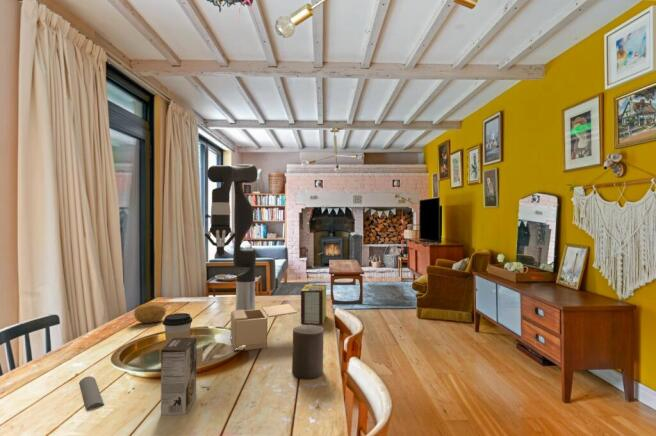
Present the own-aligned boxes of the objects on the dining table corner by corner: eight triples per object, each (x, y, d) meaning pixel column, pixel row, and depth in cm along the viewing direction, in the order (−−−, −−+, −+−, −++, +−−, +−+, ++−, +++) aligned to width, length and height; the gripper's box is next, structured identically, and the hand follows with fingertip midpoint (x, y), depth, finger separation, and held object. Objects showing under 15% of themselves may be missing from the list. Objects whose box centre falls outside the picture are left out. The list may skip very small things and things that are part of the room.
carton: (230, 338, 143) (230, 309, 143) (260, 335, 147) (260, 307, 147) (234, 351, 129) (234, 319, 129) (267, 347, 133) (267, 316, 133)
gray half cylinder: (95, 380, 107) (95, 374, 107) (105, 407, 92) (105, 400, 92) (78, 384, 104) (78, 378, 104) (85, 413, 89) (85, 405, 89)
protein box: (326, 315, 179) (326, 284, 179) (322, 324, 163) (323, 290, 163) (305, 315, 180) (305, 284, 180) (300, 323, 164) (300, 290, 164)
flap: (262, 307, 147) (288, 303, 151) (262, 309, 147) (288, 305, 151) (268, 316, 134) (296, 311, 138) (268, 317, 134) (297, 313, 138)
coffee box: (172, 397, 96) (173, 337, 96) (197, 396, 97) (197, 336, 97) (159, 415, 87) (159, 349, 87) (186, 414, 87) (187, 348, 88)
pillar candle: (299, 382, 105) (300, 331, 106) (287, 369, 114) (288, 322, 114) (328, 376, 110) (329, 327, 110) (314, 364, 119) (315, 319, 119)
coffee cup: (198, 357, 123) (198, 314, 123) (176, 367, 115) (176, 321, 115) (178, 353, 127) (178, 311, 127) (155, 362, 119) (155, 317, 119)
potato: (168, 302, 165) (162, 297, 172) (136, 308, 157) (131, 302, 164) (168, 322, 166) (163, 316, 173) (137, 329, 158) (132, 322, 165)
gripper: (236, 214, 153) (235, 254, 153) (203, 213, 148) (203, 255, 148) (238, 213, 146) (237, 256, 146) (203, 213, 141) (203, 257, 141)
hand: (220, 255), depth 147 cm, fingers closed
